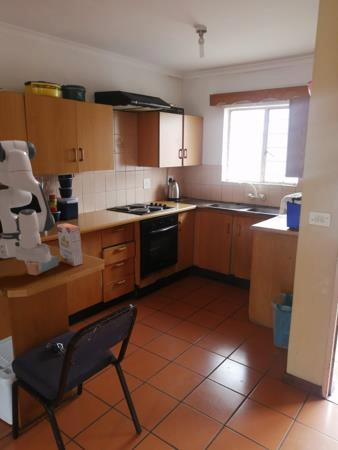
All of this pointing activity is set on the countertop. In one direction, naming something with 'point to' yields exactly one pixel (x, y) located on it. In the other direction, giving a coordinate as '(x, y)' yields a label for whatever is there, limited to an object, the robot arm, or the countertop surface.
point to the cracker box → (70, 244)
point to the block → (33, 268)
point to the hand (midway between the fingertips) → (34, 269)
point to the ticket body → (50, 263)
